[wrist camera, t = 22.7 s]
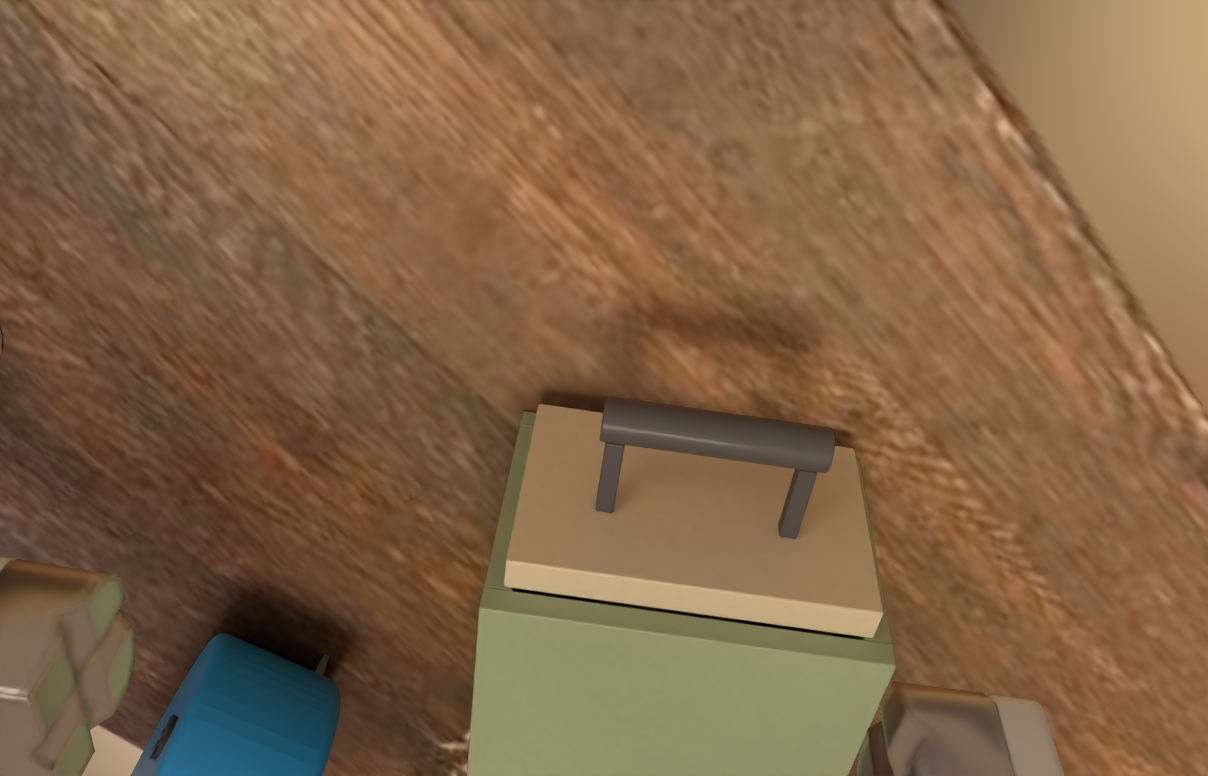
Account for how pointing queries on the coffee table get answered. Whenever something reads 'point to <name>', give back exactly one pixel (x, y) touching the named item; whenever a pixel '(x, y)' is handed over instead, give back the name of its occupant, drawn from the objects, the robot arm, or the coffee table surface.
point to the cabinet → (660, 684)
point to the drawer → (696, 517)
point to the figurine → (0, 342)
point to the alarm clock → (245, 717)
